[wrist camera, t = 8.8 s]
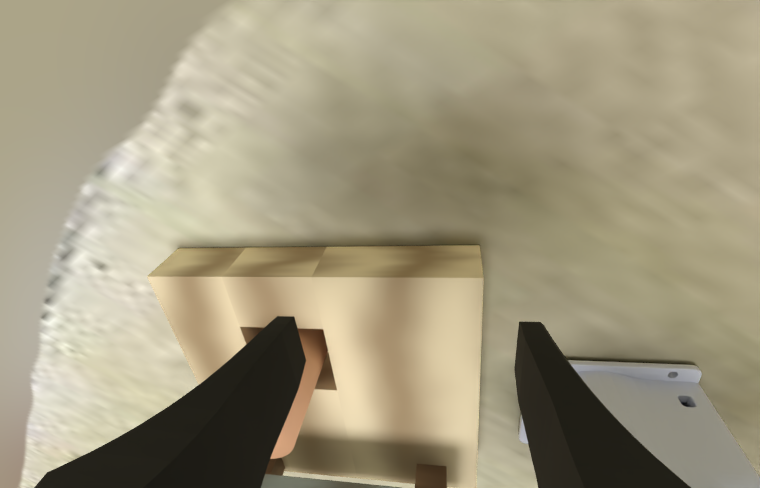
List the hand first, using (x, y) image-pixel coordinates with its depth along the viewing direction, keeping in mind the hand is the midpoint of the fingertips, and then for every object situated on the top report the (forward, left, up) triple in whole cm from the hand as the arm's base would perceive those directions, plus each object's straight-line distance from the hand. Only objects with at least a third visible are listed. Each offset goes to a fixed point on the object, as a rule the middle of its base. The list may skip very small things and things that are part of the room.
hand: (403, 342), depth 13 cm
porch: (+6, +11, -9) cm, 16 cm away
